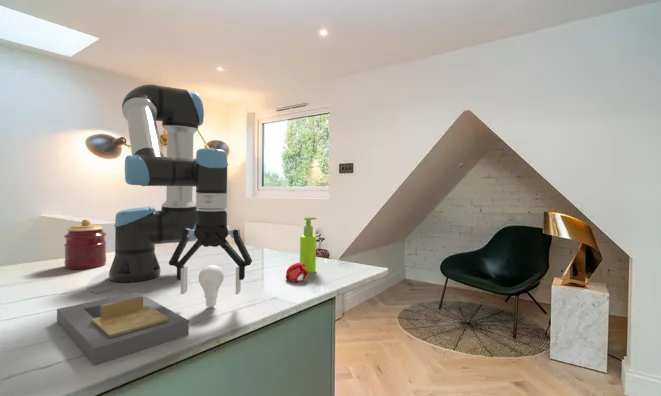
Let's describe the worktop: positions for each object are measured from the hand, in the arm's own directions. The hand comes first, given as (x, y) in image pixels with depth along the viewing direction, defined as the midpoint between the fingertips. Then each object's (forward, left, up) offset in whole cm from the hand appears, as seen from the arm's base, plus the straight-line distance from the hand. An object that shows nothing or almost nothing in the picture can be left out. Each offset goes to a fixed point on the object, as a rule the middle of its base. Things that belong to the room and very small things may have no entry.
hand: (211, 292), depth 88 cm
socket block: (-3, -20, -4) cm, 21 cm away
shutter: (+3, -20, -1) cm, 20 cm away
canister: (-74, -9, -4) cm, 75 cm away
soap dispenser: (-9, +45, -4) cm, 46 cm away
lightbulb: (0, 0, -4) cm, 4 cm away
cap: (-3, +33, -4) cm, 33 cm away
